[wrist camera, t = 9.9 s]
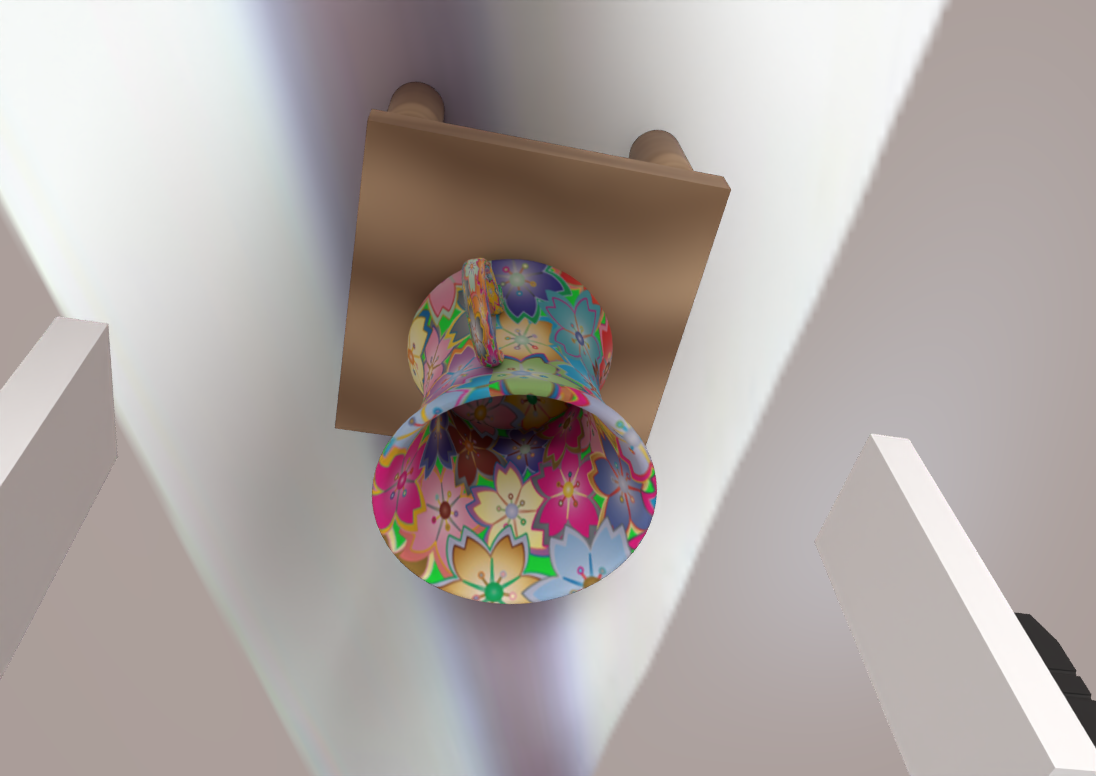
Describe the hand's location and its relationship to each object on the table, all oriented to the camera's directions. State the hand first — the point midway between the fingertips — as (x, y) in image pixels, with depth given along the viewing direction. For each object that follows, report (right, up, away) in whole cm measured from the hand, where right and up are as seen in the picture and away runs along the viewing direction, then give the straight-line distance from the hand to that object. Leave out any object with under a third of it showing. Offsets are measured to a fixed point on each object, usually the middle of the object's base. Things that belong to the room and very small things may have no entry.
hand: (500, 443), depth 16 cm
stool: (-1, +8, +28) cm, 29 cm away
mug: (-1, +4, +22) cm, 23 cm away
